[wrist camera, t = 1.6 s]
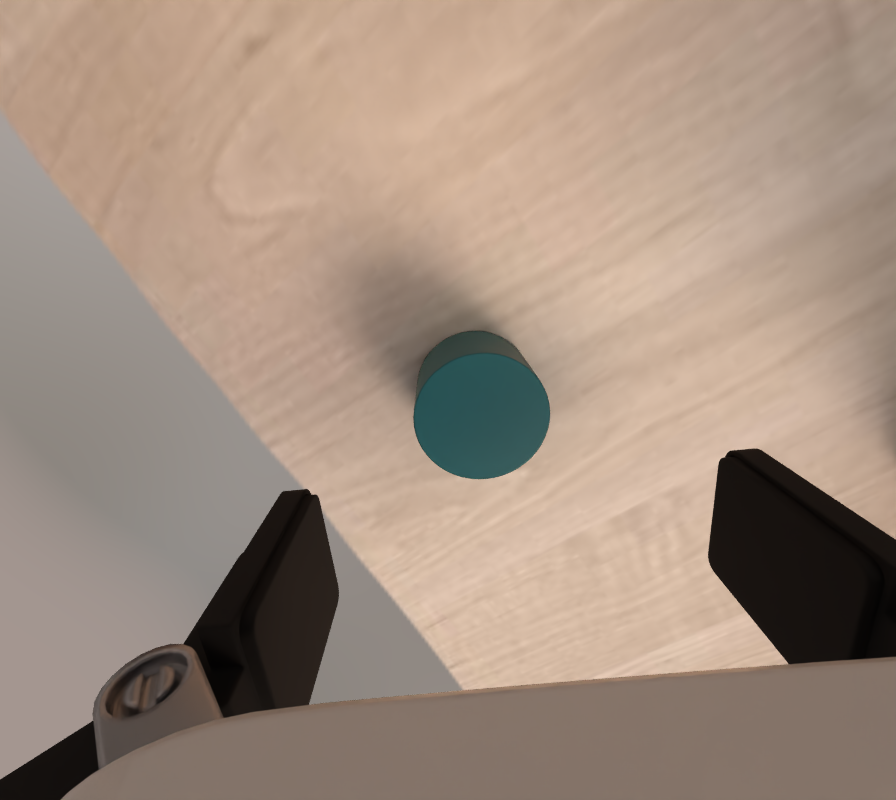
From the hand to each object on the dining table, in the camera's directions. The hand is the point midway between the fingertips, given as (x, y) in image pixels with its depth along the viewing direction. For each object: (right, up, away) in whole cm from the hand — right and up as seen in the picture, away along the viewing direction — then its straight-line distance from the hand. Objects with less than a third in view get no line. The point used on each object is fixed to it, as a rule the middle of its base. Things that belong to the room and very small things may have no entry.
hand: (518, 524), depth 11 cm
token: (-1, +3, +9) cm, 9 cm away
